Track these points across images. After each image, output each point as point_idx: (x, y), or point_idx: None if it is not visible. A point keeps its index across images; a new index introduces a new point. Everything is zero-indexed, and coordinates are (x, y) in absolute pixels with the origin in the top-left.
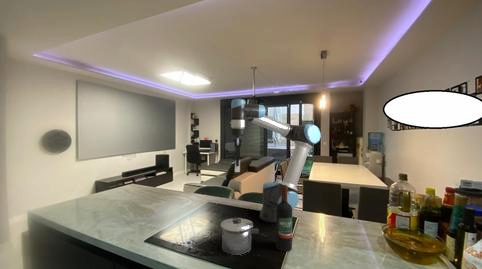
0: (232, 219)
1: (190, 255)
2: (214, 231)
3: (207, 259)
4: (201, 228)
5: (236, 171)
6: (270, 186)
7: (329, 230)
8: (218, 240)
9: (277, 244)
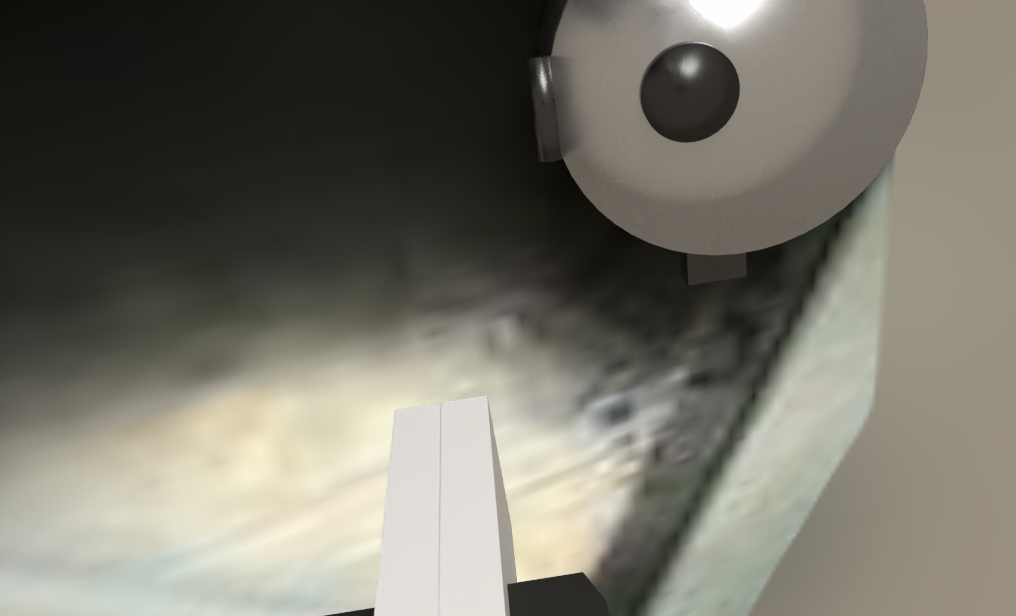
0: (602, 153)
1: (782, 346)
2: (744, 274)
3: (831, 227)
4: (380, 405)
5: (505, 497)
6: None
7: None
8: (565, 218)
9: None
